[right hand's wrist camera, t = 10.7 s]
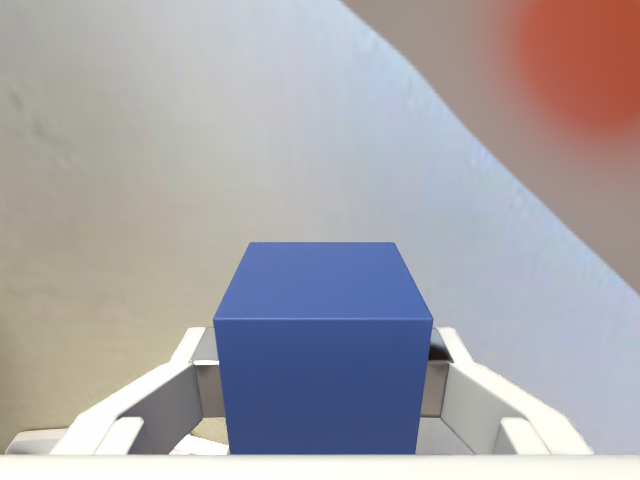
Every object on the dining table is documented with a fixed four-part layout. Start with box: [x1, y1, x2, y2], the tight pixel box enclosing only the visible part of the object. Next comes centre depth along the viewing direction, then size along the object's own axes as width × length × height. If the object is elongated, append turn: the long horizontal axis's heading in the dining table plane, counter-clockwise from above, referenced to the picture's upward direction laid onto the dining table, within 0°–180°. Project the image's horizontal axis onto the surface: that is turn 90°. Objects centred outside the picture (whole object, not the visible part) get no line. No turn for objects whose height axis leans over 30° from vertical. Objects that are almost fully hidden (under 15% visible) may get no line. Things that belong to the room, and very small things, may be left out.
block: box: [213, 242, 433, 455], centre depth 10 cm, size 5×5×4 cm
